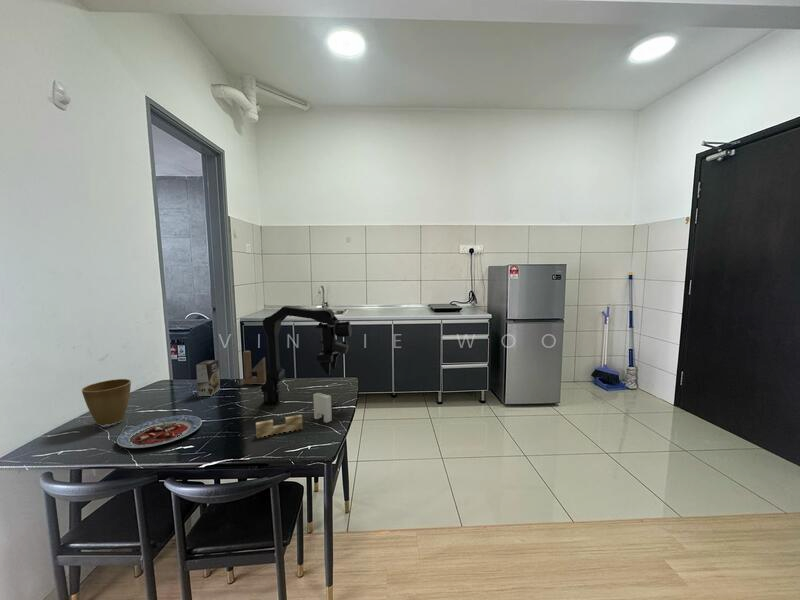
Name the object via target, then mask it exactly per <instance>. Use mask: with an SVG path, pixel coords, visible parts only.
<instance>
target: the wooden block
mask: <svg viewBox="0 0 800 600" xmlns="http://www.w3.org/2000/svg"><path fill="white" fill-rule="evenodd" d="M242 354H243V371H244V372H243V374H244V378H243V385H244V384H251V383H266V376H267V370H266V369H267V368H266V356H264V357H263V358H261V359H260V361H259V362H258V363H257V364H256V365H255V366H254V367H253V368H252V357H251V356H252V355H251V354H252V353H251V350H244V351H243V352H242ZM252 373H256V375H257V376H253V375H252Z"/></svg>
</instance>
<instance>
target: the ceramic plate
mask: <svg viewBox="0 0 800 600" xmlns="http://www.w3.org/2000/svg"><path fill="white" fill-rule="evenodd" d="M202 421H203V420H202V419H201V418H200V417H197V416H196V415H195V416H194V415H184V414H181V415H172V416H166V417H161V418H156V419H152V420H149V421H145V422H143V423H140V424H137V425H135V426H134V425H133V427H130V428H128V429H127V430H125V431H124V432H122V433H121V434H119V436H118V437H117V439H116V443H117V445H119V446H120V447H123V448H128V449H141V448H142V449H144V448H150V447H156V446H160V445H164V444H168V443H172V442H175V441H177V440H180V439H183V438H186V437H187V436H189V435H190V434H192V433H194V432H196V431H197V430H198V429H199V428H200V427H201V425H202V423H203V422H202ZM170 423H171V424H172V423H176V424H174V425H169V424H170ZM166 424H167V425H166ZM157 425H159V426H161V425H165V426H166V427H153V426H157ZM150 427H152V428H150ZM147 428H150V429H147ZM145 429H147V430H145ZM143 430H145V431H144V432H143V433H140V434H139V435H138V436H137V437H135V438H134V440H133V443H134V444H133V443H132V442H130V438H131V437H132V436H133V435H135V434H136V433H139V432H140V431H143ZM180 433H182V435H180V436H178V437H177V435H179V434H180ZM165 440H167V441H165ZM159 441H160V442H159ZM161 441H163V442H161ZM154 442H158V443H154ZM149 443H153V444H149ZM137 444H142V445H137ZM144 444H145V445H144Z"/></svg>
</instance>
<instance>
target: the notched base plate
mask: <svg viewBox="0 0 800 600" xmlns="http://www.w3.org/2000/svg"><path fill="white" fill-rule="evenodd" d="M299 429H301V430H303V429H304V427H303V415H302V414H297V415H291V416H286V417H285V423H282V424H278V425H277V424H276V425H274V420H273V419H269V420H263V421H262V420H261V421H257V422H255V430H256V431H255V433H256V434H255V435H256V439H260V437H261V438H265V437H264V436H266V437H269V436H268V435H271V436H274V435H273V434H276V435H279V434H278V433H281V434H284V433H283V432H286V433H290V432H289V431H291V432H295V431H294V430H296V431H300V430H299Z"/></svg>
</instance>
